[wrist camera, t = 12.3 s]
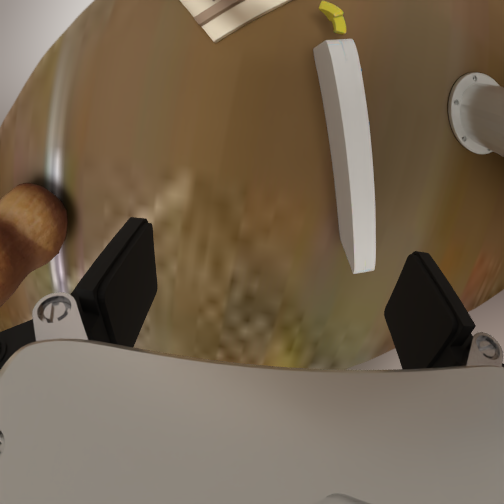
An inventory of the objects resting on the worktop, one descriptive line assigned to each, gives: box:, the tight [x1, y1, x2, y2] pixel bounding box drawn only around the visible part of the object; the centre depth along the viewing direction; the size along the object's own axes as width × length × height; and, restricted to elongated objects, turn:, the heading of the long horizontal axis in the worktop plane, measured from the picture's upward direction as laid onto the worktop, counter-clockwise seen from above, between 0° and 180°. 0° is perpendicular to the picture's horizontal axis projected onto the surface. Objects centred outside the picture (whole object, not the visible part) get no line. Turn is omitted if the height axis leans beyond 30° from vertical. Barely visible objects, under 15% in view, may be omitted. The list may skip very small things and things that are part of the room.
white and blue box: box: [313, 1, 376, 274], centre depth 31 cm, size 32×4×10 cm, turn 12°
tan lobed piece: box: [0, 183, 68, 307], centre depth 33 cm, size 14×13×25 cm
